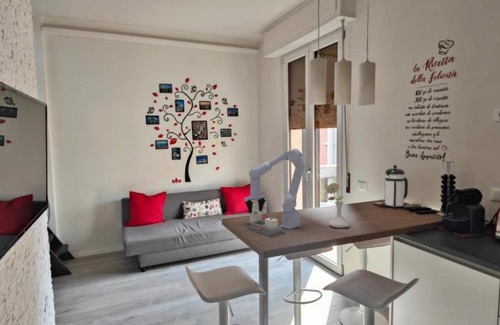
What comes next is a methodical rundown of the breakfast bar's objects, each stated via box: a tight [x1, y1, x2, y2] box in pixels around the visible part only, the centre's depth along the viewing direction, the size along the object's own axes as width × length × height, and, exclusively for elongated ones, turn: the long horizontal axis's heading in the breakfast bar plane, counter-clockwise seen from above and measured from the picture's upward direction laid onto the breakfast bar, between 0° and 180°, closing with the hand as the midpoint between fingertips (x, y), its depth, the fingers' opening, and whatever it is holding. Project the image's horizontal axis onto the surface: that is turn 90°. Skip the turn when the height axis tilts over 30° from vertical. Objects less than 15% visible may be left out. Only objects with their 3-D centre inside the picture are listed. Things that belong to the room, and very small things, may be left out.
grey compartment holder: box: [247, 216, 286, 238], centre depth 175 cm, size 10×19×8 cm, turn 38°
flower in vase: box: [325, 182, 350, 229], centre depth 182 cm, size 13×11×25 cm
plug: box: [249, 212, 263, 223], centre depth 190 cm, size 4×6×7 cm, turn 38°
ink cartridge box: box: [252, 200, 268, 220], centre depth 204 cm, size 9×5×15 cm, turn 68°
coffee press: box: [382, 164, 409, 210], centre depth 229 cm, size 17×16×30 cm
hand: (255, 212), depth 190 cm, fingers open, 7 cm apart
